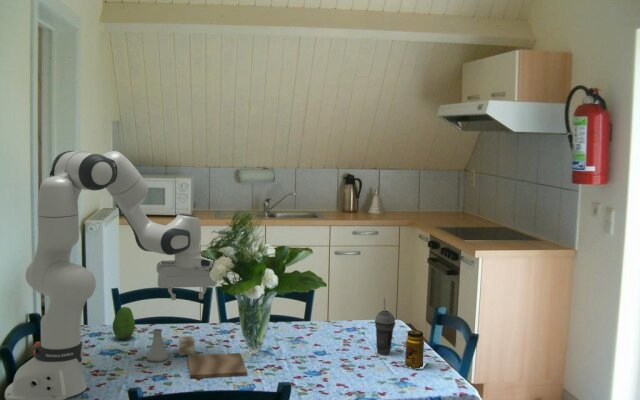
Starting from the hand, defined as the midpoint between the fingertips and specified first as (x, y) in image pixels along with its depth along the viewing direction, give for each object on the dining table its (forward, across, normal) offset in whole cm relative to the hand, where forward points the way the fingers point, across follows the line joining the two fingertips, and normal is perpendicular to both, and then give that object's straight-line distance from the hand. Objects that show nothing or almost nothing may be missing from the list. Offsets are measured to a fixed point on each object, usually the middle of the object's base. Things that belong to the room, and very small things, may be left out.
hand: (187, 299), depth 239 cm
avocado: (+19, -22, +18) cm, 34 cm away
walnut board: (+19, +9, -16) cm, 26 cm away
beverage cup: (+19, +69, -11) cm, 72 cm away
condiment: (+19, +76, -24) cm, 82 cm away
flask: (+19, -10, -5) cm, 22 cm away
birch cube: (+19, 0, 0) cm, 19 cm away
